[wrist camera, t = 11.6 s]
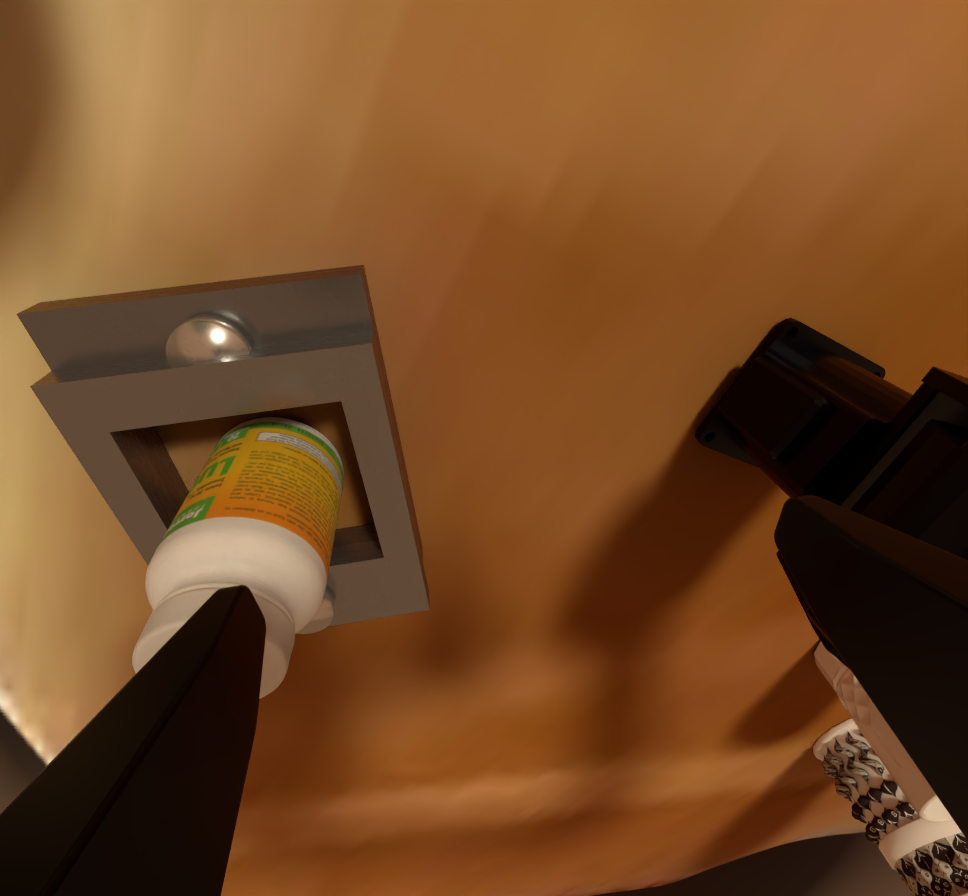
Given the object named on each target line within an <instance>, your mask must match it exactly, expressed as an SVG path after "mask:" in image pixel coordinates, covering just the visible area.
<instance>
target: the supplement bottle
mask: <svg viewBox="0 0 968 896" xmlns="http://www.w3.org/2000/svg"><path fill="white" fill-rule="evenodd" d="M343 480H344V470H343V464H342V461H341V458H340V456H339V453H338V452H337V450H336V448H335V447H334V446H333V444H332V443H331V442H330V441H329V440H328V439H327V438H326V437H325V436H324V435H323V434H321V433H320V432H318V431H317V430H315V429H313V428H312V427H310V426H308V425H306V424H303V423H301V422H298V421H294V420H291V419H286V418H277V417H266V418H257V419H252V420H249V421H246V422H243V423H241V424H239V425H237V426H235V427H234V428H232V429H231V430H230V431H228V432H227V433H226V434H225V435H224V436H223V437H222V438H221V440H220V441H219V442H218V444H217V445H216V447H215V448H214V450H213V452H212V453H211V455H210V457H209V459H208V461H207V462H206V464H205V466H204V467H203V469H202V471H201V473H200V474H199V476H198V478H197V480H196V481H195V483H194V485H193V487H192V489H191V490H190V492H189V494H188V495H187V497H186V498H185V500H184V502H183V504H182V506H181V508H180V509H179V511H178V513H177V515H176V516H175V518H174V520H173V521H172V523H171V525H170V527H169V528H168V530H167V532H166V534H165V535H164V537H163V539H162V541H161V542H160V544H159V545H158V547H157V549H156V551H155V553H154V555H153V557H152V559H151V561H150V564H149V566H148V569H147V573H146V581H145V586H146V593H147V597H148V600H149V603H150V605H151V607H152V609H153V611H152V614H151V616H150V617H149V619H148V621H147V623H146V625H145V627H144V629H143V631H142V633H141V635H140V638H139V640H138V642H137V644H136V646H135V648H134V652H133V655H132V664H133V668H134V671H135V673H137V672H138V671H139V670H140V669H141V668H142V667H143V666H144V665H145V664H146V663H147V662H148V661H149V660H150V659H151V658H152V657H153V656H154V655H155V654H156V653H157V652H158V651H159V649H160V648H161V647H162V646H163V645H164V644H165V643H166V642H167V641H168V640H169V639H170V638H171V637H172V636H173V635H174V634H175V633H176V632H177V631H178V630H179V629H180V628H181V627H182V626H183V625H184V624H185V623H186V622H187V620H188V619H189V618H190V617H191V616H192V615H193V614H194V613H195V612H196V611H197V610H198V609H199V608H200V607H201V606H202V605H203V604H204V603H205V602H206V601H207V600H208V599H209V598H210V597H211V596H212V595H213V594H214V593H215V592H216V591H217V590H219V589H221V588H226V587H232V586H238V585H245V586H247V587H248V588H249V589H250V590H251V592H252V594H253V596H254V598H255V600H256V602H257V604H258V605H259V607H260V609H261V611H262V613H263V615H264V618H265V622H266V638H265V648H264V658H263V668H262V677H261V687H260V697H259V699H261V698H263V697H265V696H266V695H268V694H270V693H271V692H273V691H274V690H275V689H276V688H277V687H278V686H279V685H280V684H281V682H282V681H283V679H284V677H285V675H286V673H287V670H288V665H289V661H290V657H291V653H292V649H293V646H294V642H295V634H296V633H297V632H299V631H300V630H301V629H303V628H304V627H305V626H306V625H307V624H308V623H309V622H310V621H311V620H312V619H313V617H314V616H315V615H316V613H317V611H318V610H319V608H320V606H321V603H322V600H323V597H324V593H325V589H326V584H327V579H328V573H329V567H330V560H331V554H332V548H333V542H334V536H335V530H336V524H337V518H338V512H339V506H340V501H341V495H342V489H343Z"/></svg>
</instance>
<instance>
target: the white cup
mask: <svg viewBox="0 0 968 896" xmlns="http://www.w3.org/2000/svg"><path fill="white" fill-rule="evenodd" d="M814 658H815V662H816V665H817V667H818V668H819V669H820V671H821V672H822V674H823V675H824V676H825V678H826V679H827V681H828V682H829V683H830V685H831V686H832V688H833V689H834V690H835V691H836V692H837V696H838V698H839V699H840V701H841V703H842V704H843V706H844V708H845V709H846V711H847V712H848V713H849V714H850V716H851V717H852V719H853V720H854V722H855V724H856V725H857V727H858V729H859V730H860V732H861V733H862V734H863V736H864V737H865V739H866V740H867V742H868V743H869V745H870V746H871V747H872V749H873V750H874V752H875V753H876V755H877V756H878V757H879V759H880V760H881V762H882V763H883V765H884V766H885V767H886V769H887V770H888V772H889V773H890V775H891V776H892V777H893V779H894V780H895V782H896V783H897V785H898V786H899V788H900V789H901V790H902V792H903V793H904V795H905V796H906V798H907V799H908V801H909V802H910V803H911V805H912V806H913V808H914V809H915V811H916V812H917V814H918V815H919V817H920V818H921V819H923V820H925V821H928V822H947V821H954V820H953V819H952V817H951V816H950V814H949V813H948V811H947V810H946V808H945V807H944V805H943V804H942V803H941V801H940V800H939V798H938V797H937V795H936V794H935V792H934V791H933V789H932V788H931V787H930V785H929V784H928V782H927V781H926V779H925V778H924V776H923V775H922V773H921V772H920V771H919V769H918V768H917V766H916V765H915V763H914V762H913V760H912V759H911V757H910V756H909V754H908V753H907V752H906V750H905V749H904V747H903V746H902V744H901V743H900V741H899V740H898V738H897V737H896V736H895V734H894V733H893V731H892V730H891V728H890V727H889V725H888V724H887V722H886V721H885V719H884V718H883V717H882V715H881V714H880V712H879V711H878V709H877V708H876V706H875V705H874V703H873V702H872V701H871V699H870V698H869V696H868V695H867V693H866V692H865V690H864V689H863V687H862V686H861V685H860V683H859V682H858V680H857V679H856V677H855V676H854V674H853V673H852V671H851V670H850V669H849V668H847V667H846V666H845V665H844V664H843V663H841V662H840V661H839V660H838V659H837V658H836V657H835V656H834V655H832V654H831V653H830V652H828V651H827V650H826V649H825V647H824V646H823V644H822V642H821V641H820V643H819V644H818V646H817V648H816V650H815V652H814Z"/></svg>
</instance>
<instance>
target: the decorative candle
mask: <svg viewBox="0 0 968 896" xmlns="http://www.w3.org/2000/svg"><path fill="white" fill-rule="evenodd" d="M813 754H814V755H815V757H816V758H817V759H819V760H821V761H822V762H823V767H824V768H825V769H824V773H825V775H827V776H829V777H831V778H832V779H833V780H835V786H836V792H837V793H838V794H839V795H840V796H842V797H844V798H845V799H847V800H849V801H851V802H853V803H854V804H853V805H852V816H853V817H854V818H855V819H857V820H860V821H861V822H863V823H867V826H866V834H865V835H866V838H867V839H868V840H869V841H871V842H874V843H876V844H878V845H879V849H880V851H881V852H882V854H883V855H884V857H885V858H886V860H887V861H888V863H889V864H890V866H891V868H892V869H894V870H896V871H897V873H898V874H899V876H900V877H901V879H902V880H903V882H904V883H905V885H906V886H907V888H908V889H909V891H910V892H911V894H912V896H968V840H967V839H966V838H965V836H964V835H963V833H962V832H961V830H960V829H959V827H958V826H957V824H956V823H955V822H954V821H947V822H928V821H925V820H923V819H921V818H920V817H919V815H918V814H917V812H916V811H915V809H914V808H913V806H912V805H911V803H910V802H909V801H908V799H907V798H906V796H905V795H904V793H903V792H902V790H901V789H900V788H899V786H898V785H897V783H896V782H895V780H894V779H893V777H892V776H891V775H890V773H889V772H888V770H887V769H886V767H885V766H884V765H883V763H882V762H881V760H880V759H879V757H878V756H877V755H876V753H875V752H874V750H873V749H872V747H871V746H870V745H869V743H868V742H867V740H866V739H865V737H864V736H863V734H862V733H861V732H860V730H859V729H858V727H857V725H856V724H855V722H854V720H853V719H852V718H850V719H848V720H846V721H844V722H842V723H840V724H838V725H836V726H834V727H832V728H831V729H829V730H828V731H827V732H826V733H824V734H823V735H822V736H821V737H819V738H818V740H817V741H816V743H815V744H814V746H813Z"/></svg>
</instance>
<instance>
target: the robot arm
mask: <svg viewBox="0 0 968 896" xmlns="http://www.w3.org/2000/svg"><path fill="white" fill-rule="evenodd" d="M790 328H792V329H791V331H790V332H789V333H788V334H787V335H786V333H787V331H788V330H789V329H790ZM884 376H885V369H884V368H883V367H881V366H879V365H877V364H875V363H873V362H872V361H870V360H868V359H866V358H864V357H863V356H861V355H859V354H857V353H855V352H854V351H852V350H850V349H848V348H846V347H845V346H843V345H841V344H839V343H837V342H836V341H834V340H832V339H830V338H828V337H827V336H825V335H823V334H821V333H819V332H817V331H816V330H814V329H812V328H810V327H808V326H807V325H805V324H803V323H801V322H799V321H797V320H795V319H792V318H788V319H785V320H783V321H782V322H781V323H780V324H779V325H778V326H777V327H776V328H775V330H774V331H773V332H772V334H771V335H770V336H769V337H768V339H767V340H766V341H765V343H764V344H763V345H762V346H761V348H760V349H759V350H758V352H757V353H756V354H755V356H754V357H753V358H752V359H751V361H750V362H749V363H748V365H747V366H746V367H745V369H744V370H743V371H742V372H741V374H740V375H739V376H738V378H737V379H736V380H735V382H734V383H733V384H732V385H731V387H730V388H729V389H728V391H727V392H726V393H725V395H724V396H723V397H722V398H721V400H720V401H719V402H718V404H717V405H716V406H715V408H714V409H713V410H712V411H711V413H710V414H709V415H708V417H707V418H706V419H705V421H704V422H703V423H702V424H701V426H700V427H699V428H698V430H697V432H696V435H695V437H696V439H697V440H698V441H699V442H700V443H701V444H702V445H703V446H706V447H708V448H711V449H714V450H716V451H719V452H721V453H724V454H726V455H729V456H731V457H734V458H736V459H739V460H742V461H744V462H747V463H749V464H752V465H754V466H757V467H759V468H760V469H761V470H762V471H763V472H764V473H765V474H766V475H768V476H769V477H770V478H771V479H772V480H773V481H774V482H775V483H776V484H777V485H778V486H779V487H780V488H781V489H782V490H783V491H784V492H785V493H786V494H787V495H788V496H789V497H790V498H789V499H788V500H787V501H786V502H785V503H784V505H783V508H782V511H781V514H780V517H779V520H778V523H777V526H776V529H775V533H774V538H775V543H776V546H777V548H778V550H779V551H778V552H777V553H776V554H777V557H778V559H779V561H780V563H781V565H782V567H783V569H784V571H785V573H786V575H787V577H788V579H789V581H790V583H791V585H792V587H793V589H794V591H795V593H796V595H797V597H798V599H799V601H800V603H801V605H802V607H803V609H804V611H805V613H806V615H807V617H808V619H809V621H810V623H811V625H812V627H813V629H814V630H815V632H816V634H817V635H818V637H819V639H820V640H821V642H822V644H823V646H824V647H825V649H826V650H827V651H828V652H830V653H831V654H832V655H834V656H835V657H836V658H837V659H838V660H839V661H840V662H841V663H843V664H844V665H845V666H846V667H847V668H849V669H850V670H851V671H852V673H853V674H854V676H855V677H856V679H857V680H858V682H859V683H860V685H861V686H862V687H863V689H864V690H865V692H866V693H867V695H868V696H869V698H870V699H871V701H872V702H873V703H874V705H875V706H876V708H877V709H878V711H879V712H880V714H881V715H882V717H883V718H884V719H885V721H886V722H887V724H888V725H889V727H890V728H891V730H892V731H893V733H894V734H895V736H896V737H897V738H898V740H899V741H900V743H901V744H902V746H903V747H904V749H905V750H906V752H907V753H908V754H909V756H910V757H911V759H912V760H913V762H914V763H915V765H916V766H917V768H918V769H919V771H920V772H921V773H922V775H923V776H924V778H925V779H926V781H927V782H928V784H929V785H930V787H931V788H932V789H933V791H934V792H935V794H936V795H937V797H938V798H939V800H940V801H941V803H942V804H943V805H944V807H945V808H946V810H947V811H948V813H949V814H950V816H951V817H952V819H953V820H954V822H955V823H956V824H957V826H958V827H959V829H960V830H961V832H962V833H963V835H964V836H965V838H966V839H967V840H968V378H965V377H962V376H960V375H957V374H954V373H951V372H948V371H945V370H942V369H939V368H936V367H932V368H931V370H930V371H929V372H928V373H927V374H926V376H925V377H924V378H923V379H922V380H921V381H923V382H924V383H923V384H922V385H921V386H920V387H919V389H918V390H917V391H916V392H915V393H914V395H912V394H910V393H908V392H906V391H905V390H903V389H901V388H899V387H897V386H895V385H893V384H892V383H890V382H888V381H886V380H884V379H883V378H884ZM708 433H710V434H709V435H708V436H707V437H705V436H706V435H707V434H708ZM265 638H266V622H265V618H264V615H263V613H262V611H261V609H260V607H259V605H258V604H257V602H256V600H255V598H254V596H253V594H252V592H251V590H250V589H249V588H248V587H247V586H245V585H238V586H232V587H226V588H221V589H219V590H217V591H216V592H215V593H214V594H213V595H212V596H211V597H210V598H209V599H208V600H207V601H206V602H205V603H204V604H203V605H202V606H201V607H200V608H199V609H198V610H197V611H196V612H195V613H194V614H193V615H192V616H191V617H190V618H189V619H188V620H187V622H186V623H185V624H184V625H183V626H182V627H181V628H180V629H179V630H178V631H177V632H176V633H175V634H174V635H173V636H172V637H171V638H170V639H169V640H168V641H167V642H166V643H165V644H164V645H163V646H162V647H161V648H160V649H159V651H158V652H157V653H156V654H155V655H154V656H153V657H152V658H151V659H150V660H149V661H148V662H147V663H146V664H145V665H144V666H143V667H142V668H141V669H140V670H139V671H138V672H137V673H136V674H135V675H134V676H133V677H132V678H131V680H130V681H129V682H128V683H127V684H126V685H125V686H124V687H123V688H122V689H121V690H120V691H119V692H118V693H117V694H116V695H115V696H114V697H113V698H112V699H111V700H110V701H109V702H108V703H107V704H106V705H105V706H104V707H103V709H102V710H101V711H100V712H99V713H98V714H97V715H96V716H95V717H94V718H93V719H92V720H91V721H90V722H89V723H88V724H87V725H86V726H85V727H84V728H83V729H82V730H81V731H80V732H79V733H78V734H77V735H76V736H75V738H74V739H73V740H72V741H71V742H70V743H69V744H68V745H67V746H66V747H65V748H64V749H63V750H62V751H61V752H60V753H59V754H58V755H57V756H56V757H55V758H54V759H53V760H52V761H51V762H50V763H49V764H48V765H47V767H46V768H45V769H44V770H43V771H42V772H41V773H40V774H39V775H38V776H37V777H36V778H35V779H34V780H33V781H32V782H31V783H30V784H29V785H28V786H27V787H26V788H25V790H23V791H22V792H21V793H20V794H19V796H18V797H17V798H16V799H15V800H14V801H13V802H12V803H11V804H10V805H9V806H8V807H7V808H6V809H5V810H4V811H3V812H2V813H1V814H0V896H221V891H222V887H223V882H224V877H225V873H226V868H227V863H228V859H229V854H230V849H231V844H232V840H233V835H234V830H235V826H236V821H237V816H238V812H239V807H240V802H241V797H242V793H243V788H244V783H245V779H246V774H247V769H248V765H249V760H250V755H251V750H252V746H253V741H254V735H255V730H256V724H257V716H258V707H259V697H260V687H261V677H262V668H263V658H264V648H265Z"/></svg>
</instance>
